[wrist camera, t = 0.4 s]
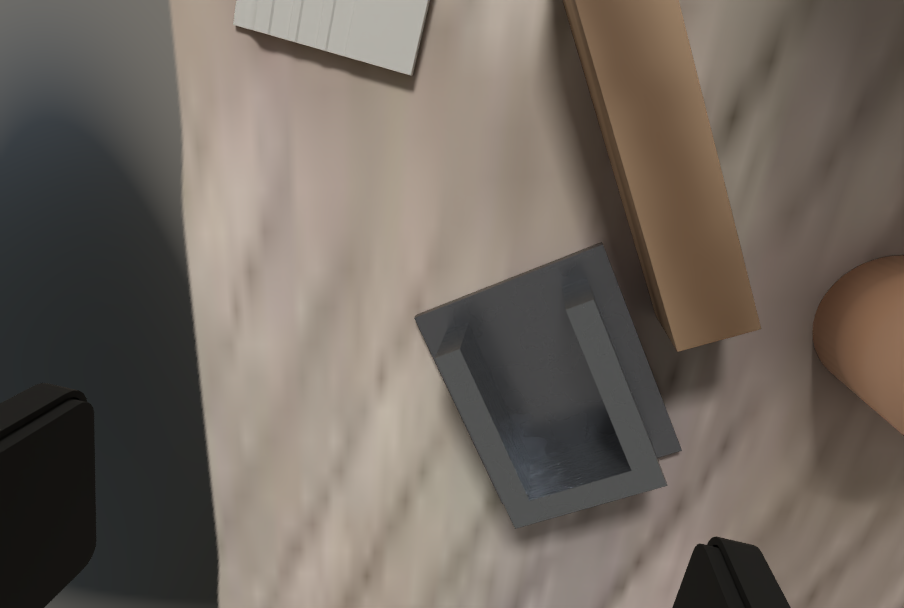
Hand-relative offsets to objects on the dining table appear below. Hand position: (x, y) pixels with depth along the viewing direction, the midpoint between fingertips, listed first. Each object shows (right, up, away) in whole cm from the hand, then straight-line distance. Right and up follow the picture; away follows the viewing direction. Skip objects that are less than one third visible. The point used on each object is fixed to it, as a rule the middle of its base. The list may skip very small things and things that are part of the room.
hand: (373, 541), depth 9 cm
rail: (+12, +13, +24) cm, 29 cm away
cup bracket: (+7, -1, +28) cm, 29 cm away
